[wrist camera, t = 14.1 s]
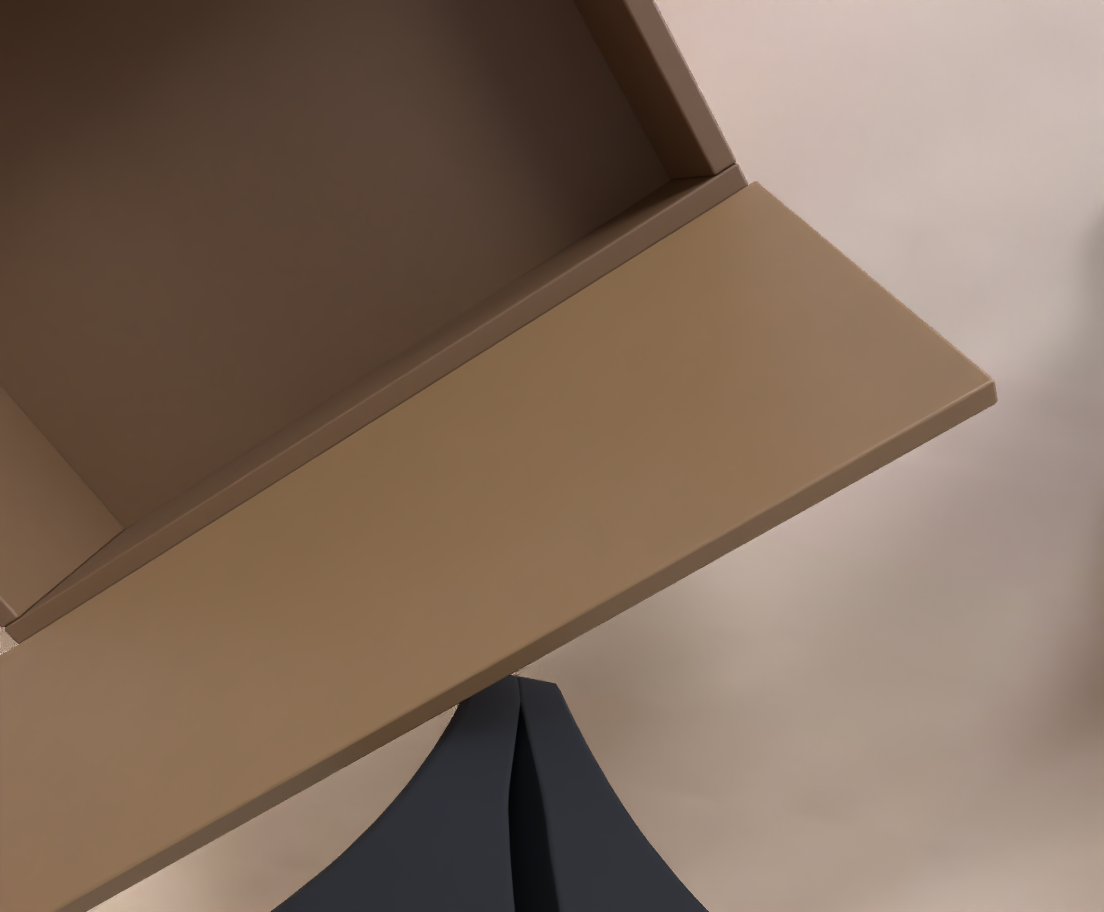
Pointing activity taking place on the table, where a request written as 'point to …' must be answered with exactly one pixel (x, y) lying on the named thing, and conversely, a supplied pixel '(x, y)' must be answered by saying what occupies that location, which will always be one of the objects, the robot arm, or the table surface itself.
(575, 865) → the robot arm
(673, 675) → the table surface
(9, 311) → the carton
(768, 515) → the flap
